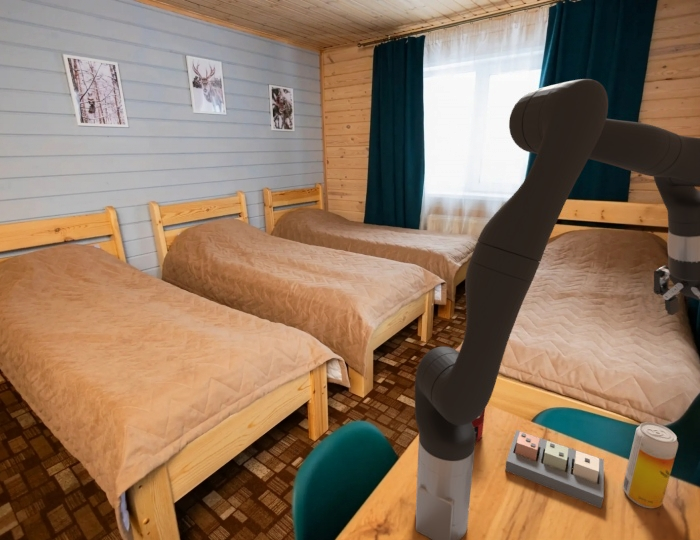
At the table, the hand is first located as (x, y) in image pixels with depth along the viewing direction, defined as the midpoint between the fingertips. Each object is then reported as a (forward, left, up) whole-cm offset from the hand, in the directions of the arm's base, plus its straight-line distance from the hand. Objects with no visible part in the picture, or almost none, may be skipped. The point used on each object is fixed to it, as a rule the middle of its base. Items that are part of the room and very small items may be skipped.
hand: (695, 321), depth 77 cm
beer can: (-18, +5, -31) cm, 36 cm away
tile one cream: (-20, +15, -29) cm, 38 cm away
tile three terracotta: (-20, +25, -29) cm, 43 cm away
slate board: (-20, +20, -31) cm, 42 cm away
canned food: (-18, +39, -31) cm, 53 cm away
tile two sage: (-20, +20, -29) cm, 40 cm away
